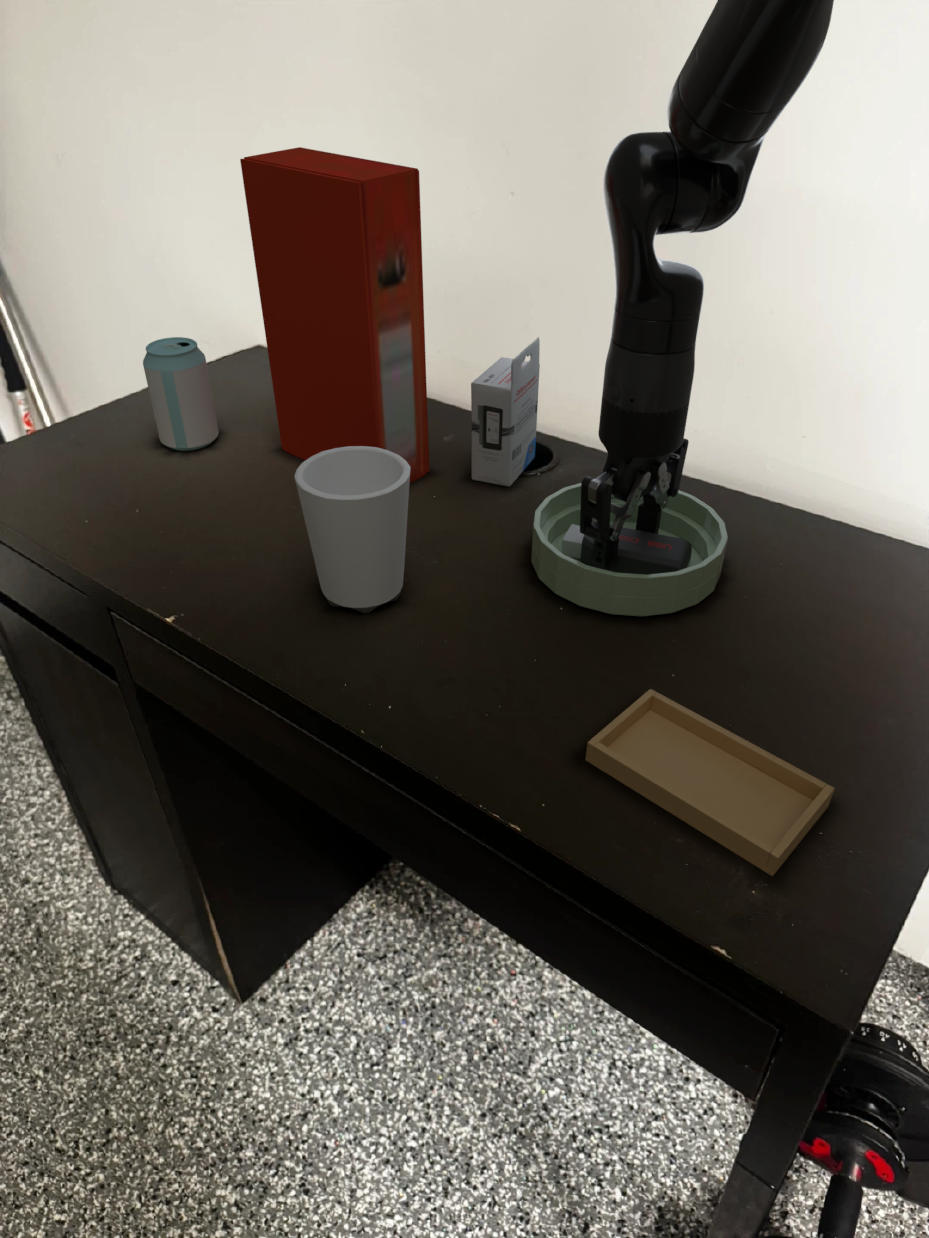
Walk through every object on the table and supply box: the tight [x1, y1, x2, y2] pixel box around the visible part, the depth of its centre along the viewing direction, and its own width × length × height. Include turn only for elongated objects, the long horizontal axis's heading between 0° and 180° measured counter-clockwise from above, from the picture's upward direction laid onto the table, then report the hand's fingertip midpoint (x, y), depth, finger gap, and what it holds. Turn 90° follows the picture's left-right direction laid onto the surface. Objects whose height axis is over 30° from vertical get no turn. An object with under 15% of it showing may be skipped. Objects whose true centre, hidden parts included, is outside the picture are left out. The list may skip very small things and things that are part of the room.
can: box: [142, 336, 220, 452], centre depth 106 cm, size 7×7×12 cm
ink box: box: [470, 336, 541, 488], centre depth 99 cm, size 8×5×15 cm, turn 156°
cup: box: [294, 446, 411, 614], centre depth 80 cm, size 10×10×13 cm
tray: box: [584, 688, 836, 877], centre depth 64 cm, size 15×8×2 cm, turn 47°
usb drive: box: [562, 522, 692, 575], centre depth 86 cm, size 5×12×3 cm, turn 69°
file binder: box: [239, 147, 430, 483], centre depth 95 cm, size 8×17×32 cm, turn 48°
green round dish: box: [530, 482, 729, 617], centre depth 86 cm, size 18×18×4 cm
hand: (625, 553), depth 87 cm, fingers closed on usb drive, 6 cm apart
